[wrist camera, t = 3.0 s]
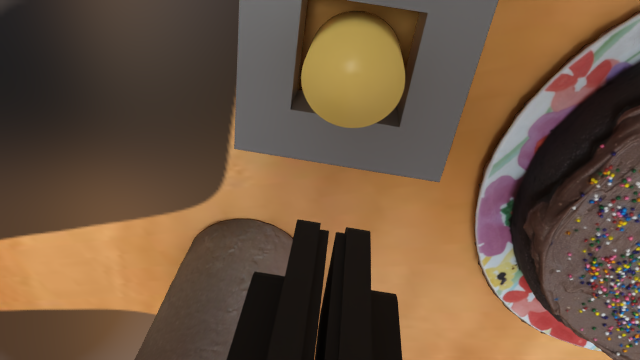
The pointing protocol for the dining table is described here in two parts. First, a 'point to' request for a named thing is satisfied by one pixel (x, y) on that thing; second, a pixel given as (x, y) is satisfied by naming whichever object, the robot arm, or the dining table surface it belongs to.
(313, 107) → the mustard button
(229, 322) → the pillar candle
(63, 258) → the dining table surface
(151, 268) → the dining table surface
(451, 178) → the dining table surface
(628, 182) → the chocolate cake
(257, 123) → the console
